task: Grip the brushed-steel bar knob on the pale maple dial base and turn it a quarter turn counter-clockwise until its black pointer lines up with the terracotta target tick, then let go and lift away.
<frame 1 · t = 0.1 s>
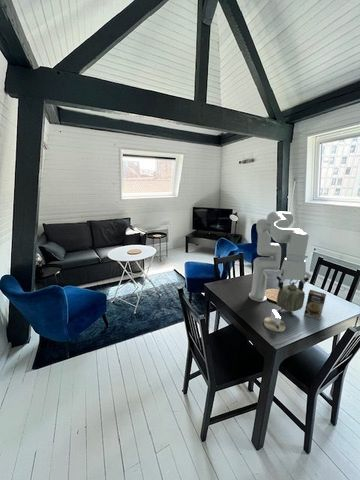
hand: (290, 289, 105), 31 cm above the table, tool pointing down, fingers open, 9 cm apart
dial base: (274, 325, 125), on the table
coffee box: (312, 315, 136), on the table
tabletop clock: (288, 313, 138), on the table
dial knob: (275, 318, 123), point 5 cm above the table, hinge at 0.0°
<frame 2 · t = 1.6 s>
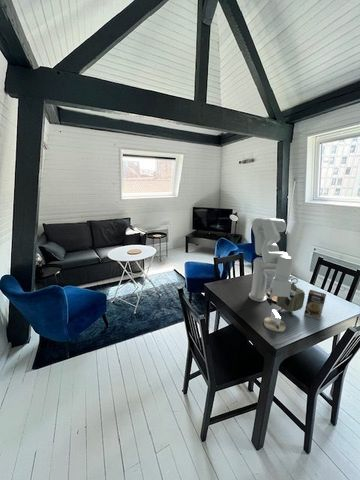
hand: (278, 304, 121), 15 cm above the table, tool pointing down, fingers open, 9 cm apart
nothing on the table moved.
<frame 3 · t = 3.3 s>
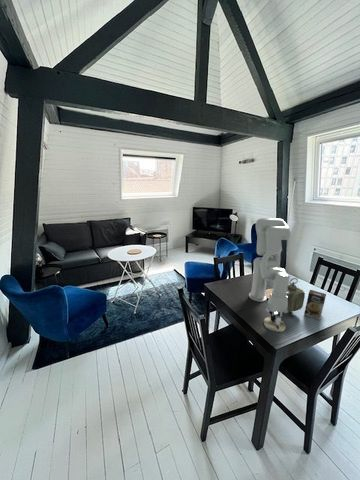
hand: (275, 320, 124), 3 cm above the table, tool pointing down, fingers closed on dial knob, 2 cm apart
dial knob: (275, 318, 123), point 5 cm above the table, hinge at 0.0°, touching gripper
everything else where it was.
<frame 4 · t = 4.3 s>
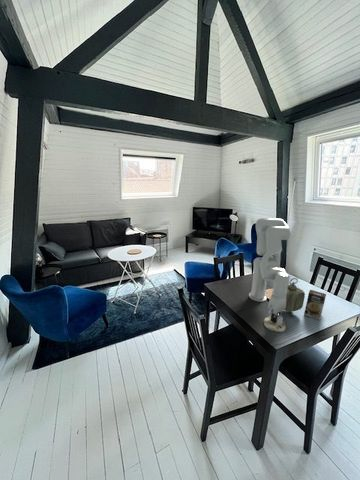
hand: (275, 320, 124), 3 cm above the table, tool pointing down, fingers closed on dial knob, 3 cm apart
dial knob: (276, 318, 123), point 5 cm above the table, hinge at 21.2°, touching gripper
everything else where it was.
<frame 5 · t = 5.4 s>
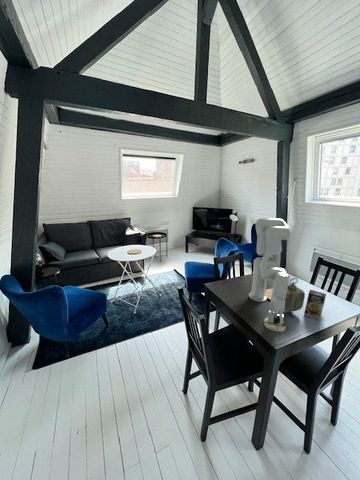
hand: (275, 320, 124), 3 cm above the table, tool pointing down, fingers closed on dial knob, 3 cm apart
dial knob: (276, 318, 123), point 5 cm above the table, hinge at 68.2°, touching gripper
everything else where it was.
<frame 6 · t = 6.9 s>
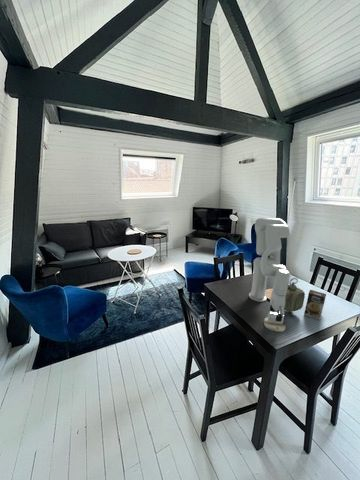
hand: (275, 315, 124), 6 cm above the table, tool pointing down, fingers open, 9 cm apart
dial knob: (276, 318, 124), point 5 cm above the table, hinge at 82.1°
everything else where it was.
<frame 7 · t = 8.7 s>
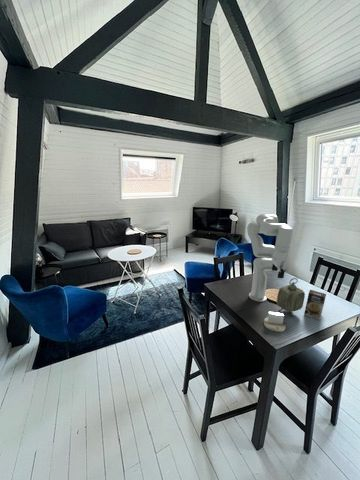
hand: (277, 274, 125), 30 cm above the table, tool pointing down, fingers open, 9 cm apart
dial knob: (276, 318, 124), point 5 cm above the table, hinge at 82.6°
everything else where it was.
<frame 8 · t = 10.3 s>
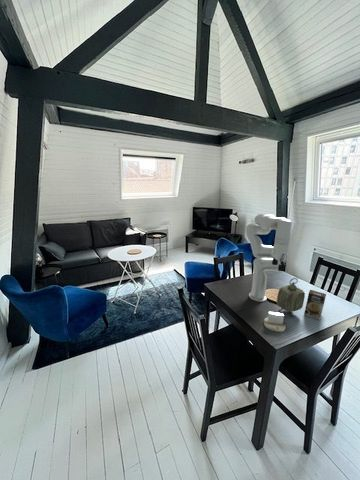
hand: (277, 267, 126), 33 cm above the table, tool pointing down, fingers open, 9 cm apart
nothing on the table moved.
at the end: dial knob at +83° (first picture: +0°); the gripper is holding nothing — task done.
